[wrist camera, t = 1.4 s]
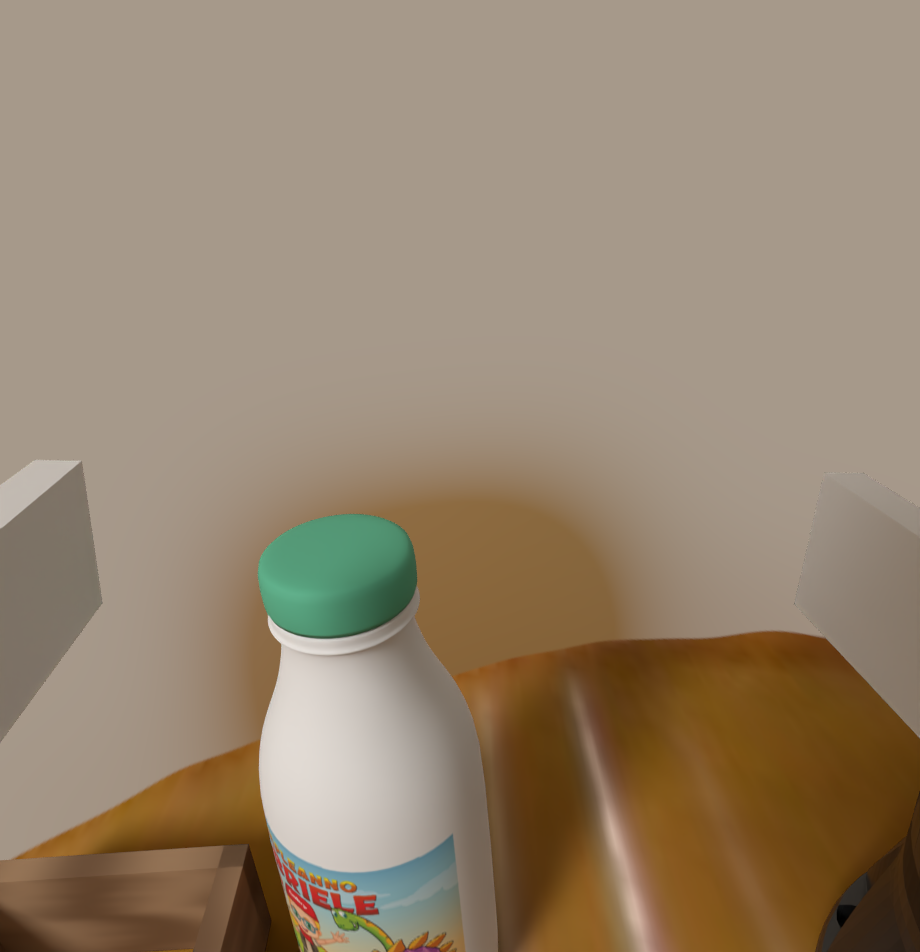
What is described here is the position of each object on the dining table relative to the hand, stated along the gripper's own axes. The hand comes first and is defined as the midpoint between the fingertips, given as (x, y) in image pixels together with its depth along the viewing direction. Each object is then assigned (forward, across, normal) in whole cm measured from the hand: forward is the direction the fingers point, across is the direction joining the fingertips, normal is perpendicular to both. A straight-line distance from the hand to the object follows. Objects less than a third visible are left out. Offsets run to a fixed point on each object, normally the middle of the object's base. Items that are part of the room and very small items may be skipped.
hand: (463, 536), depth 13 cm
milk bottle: (+10, -1, -24) cm, 26 cm away
